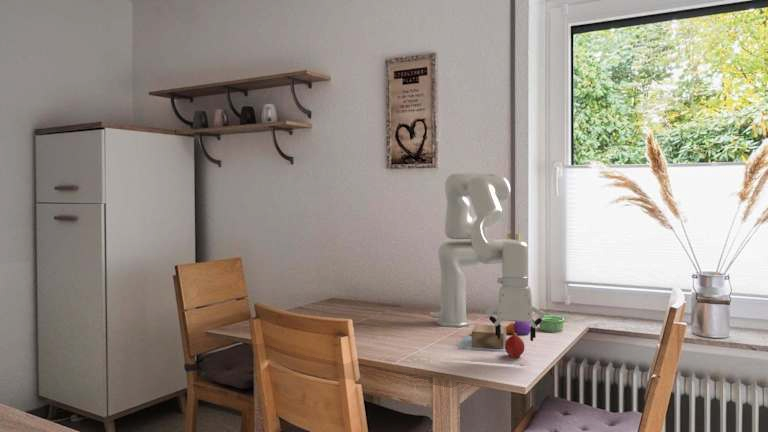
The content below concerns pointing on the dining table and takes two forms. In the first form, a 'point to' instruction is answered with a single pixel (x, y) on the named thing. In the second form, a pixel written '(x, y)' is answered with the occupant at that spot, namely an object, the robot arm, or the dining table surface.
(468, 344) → the blueprint mat
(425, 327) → the dining table surface
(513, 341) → the onion
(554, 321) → the ramekin
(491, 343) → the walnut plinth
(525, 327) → the maraca
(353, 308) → the dining table surface
